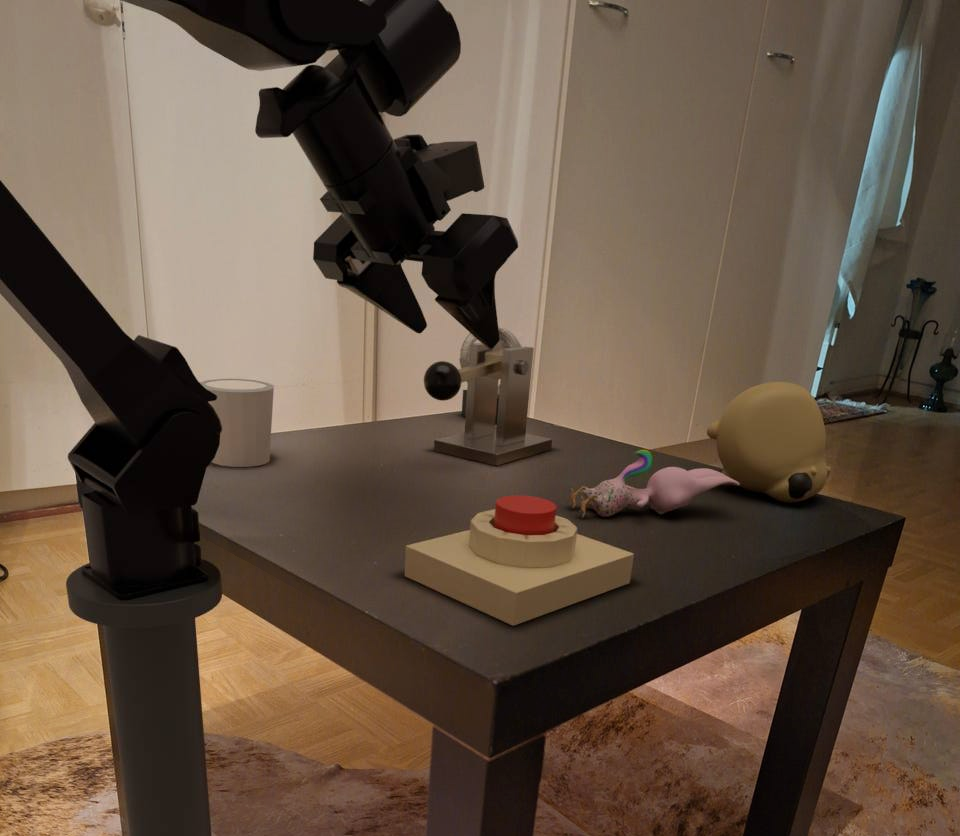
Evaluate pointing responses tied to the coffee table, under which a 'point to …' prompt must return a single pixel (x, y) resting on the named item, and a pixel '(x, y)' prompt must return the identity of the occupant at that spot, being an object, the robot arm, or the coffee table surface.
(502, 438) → the switch bracket
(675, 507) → the pink toy creature
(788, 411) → the tan animal figure
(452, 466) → the coffee table surface
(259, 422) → the white cup
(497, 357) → the lever
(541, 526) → the button
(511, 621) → the control block
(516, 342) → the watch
